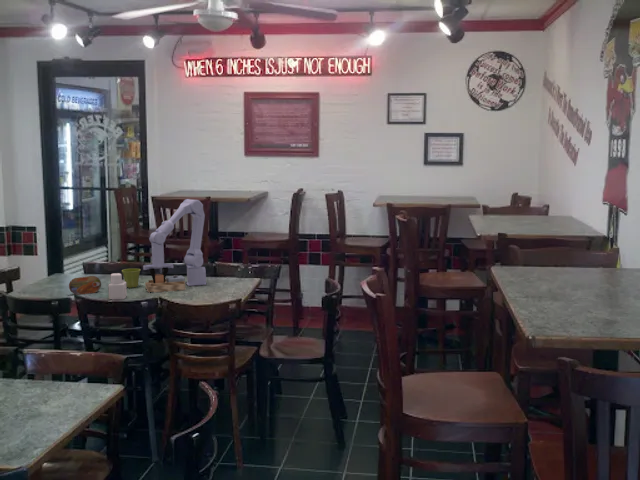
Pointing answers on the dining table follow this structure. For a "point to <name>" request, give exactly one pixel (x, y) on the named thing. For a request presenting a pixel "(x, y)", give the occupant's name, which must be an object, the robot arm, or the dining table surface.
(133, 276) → the plant pot
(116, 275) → the medicine bottle
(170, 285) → the puzzle board
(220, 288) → the dining table surface
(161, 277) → the terracotta block
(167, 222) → the robot arm
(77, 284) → the tin
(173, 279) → the slate cover
